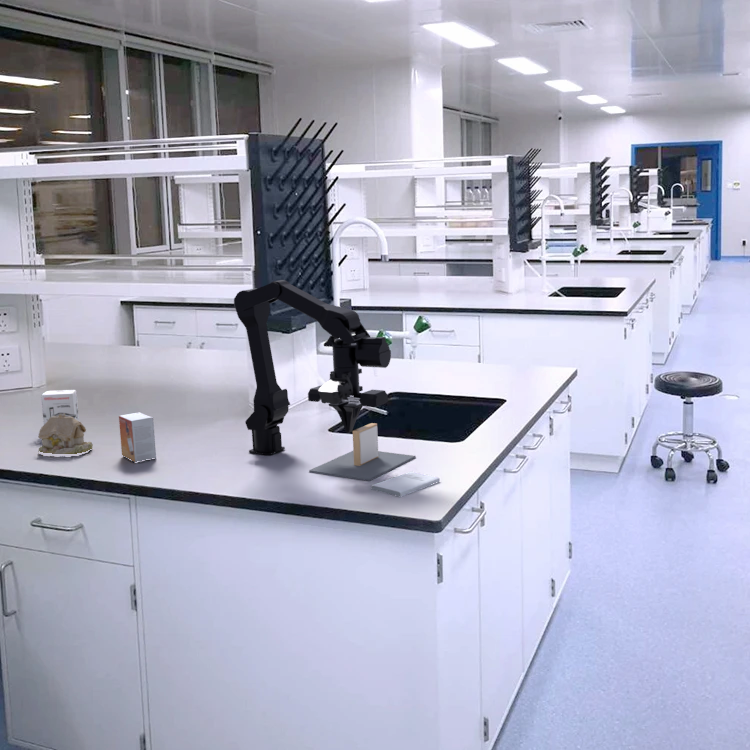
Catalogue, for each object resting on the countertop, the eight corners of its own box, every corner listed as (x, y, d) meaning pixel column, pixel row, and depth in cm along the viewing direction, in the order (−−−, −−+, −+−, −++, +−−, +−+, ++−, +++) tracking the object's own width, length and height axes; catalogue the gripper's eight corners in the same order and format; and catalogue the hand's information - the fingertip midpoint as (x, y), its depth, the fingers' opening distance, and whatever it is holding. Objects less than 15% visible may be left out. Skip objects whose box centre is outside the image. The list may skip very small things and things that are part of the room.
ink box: (44, 437, 242) (39, 394, 240) (48, 432, 247) (44, 390, 245) (76, 435, 243) (72, 392, 240) (80, 430, 247) (76, 389, 245)
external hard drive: (371, 492, 186) (410, 477, 195) (400, 499, 180) (440, 484, 189) (370, 484, 186) (410, 470, 194) (400, 492, 180) (439, 476, 189)
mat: (309, 472, 200) (309, 470, 200) (357, 450, 216) (357, 448, 216) (369, 481, 191) (369, 479, 191) (415, 457, 208) (415, 455, 208)
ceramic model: (28, 456, 223) (23, 417, 221) (58, 444, 233) (54, 407, 232) (75, 459, 218) (71, 419, 217) (103, 447, 229) (99, 409, 227)
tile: (354, 465, 202) (352, 430, 201) (372, 456, 209) (371, 423, 207) (360, 466, 201) (359, 431, 200) (379, 457, 208) (378, 423, 206)
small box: (121, 457, 218) (117, 415, 216) (143, 453, 222) (139, 411, 220) (134, 464, 212) (130, 420, 210) (157, 459, 215) (153, 416, 213)
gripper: (291, 369, 202) (295, 436, 205) (361, 374, 192) (364, 444, 195) (320, 361, 212) (323, 425, 214) (387, 365, 202) (390, 433, 205)
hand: (349, 432), depth 207 cm, fingers closed
